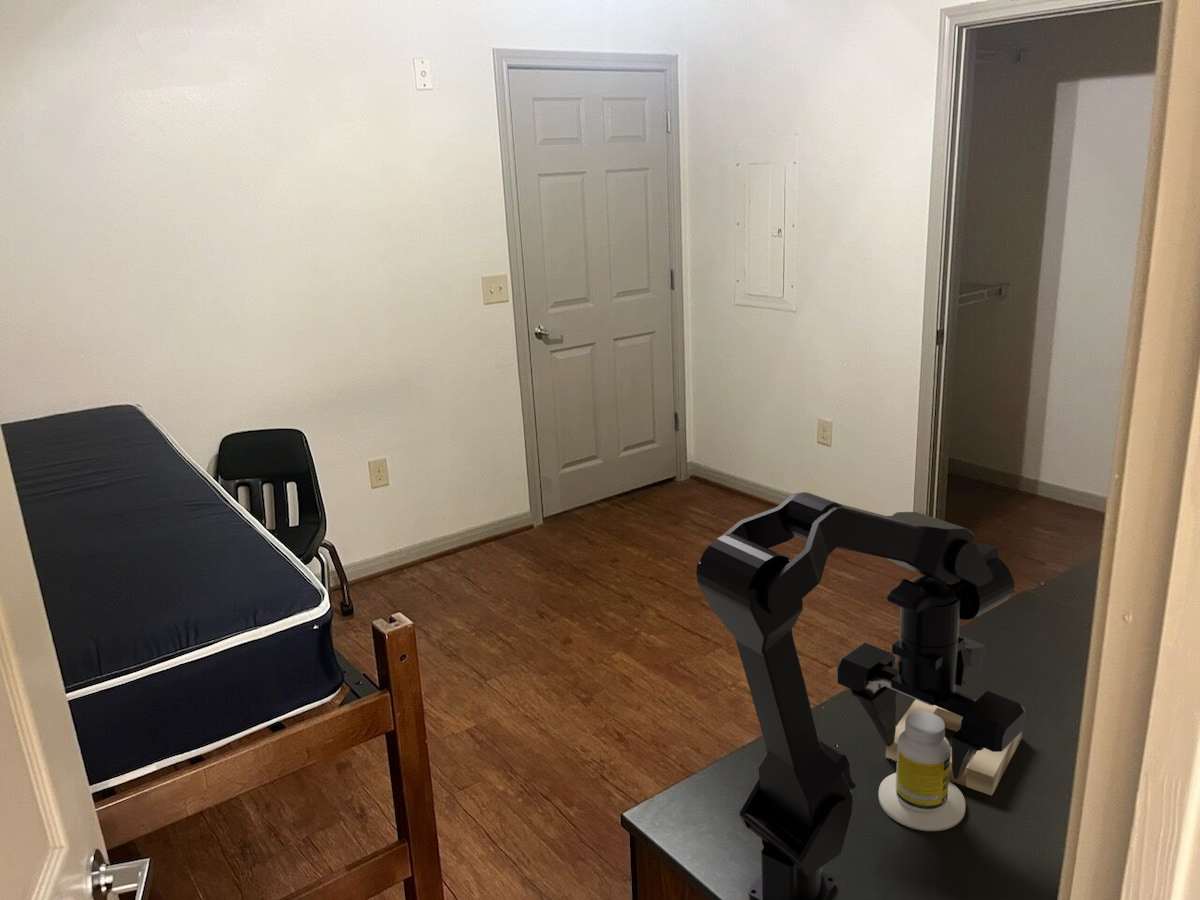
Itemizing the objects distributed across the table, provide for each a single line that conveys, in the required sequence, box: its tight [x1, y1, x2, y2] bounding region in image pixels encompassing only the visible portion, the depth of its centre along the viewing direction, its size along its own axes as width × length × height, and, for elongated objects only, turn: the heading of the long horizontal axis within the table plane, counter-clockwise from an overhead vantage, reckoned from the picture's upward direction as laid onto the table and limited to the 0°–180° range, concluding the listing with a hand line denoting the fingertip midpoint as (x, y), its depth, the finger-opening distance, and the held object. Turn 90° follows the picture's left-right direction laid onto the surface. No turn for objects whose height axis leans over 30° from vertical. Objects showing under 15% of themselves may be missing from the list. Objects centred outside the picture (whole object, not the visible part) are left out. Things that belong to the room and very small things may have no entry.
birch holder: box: [885, 699, 1023, 797], centre depth 107 cm, size 12×12×2 cm
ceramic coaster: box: [878, 772, 966, 832], centre depth 99 cm, size 9×9×1 cm
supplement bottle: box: [895, 712, 951, 813], centre depth 97 cm, size 5×5×10 cm
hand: (922, 760), depth 97 cm, fingers open, 8 cm apart
